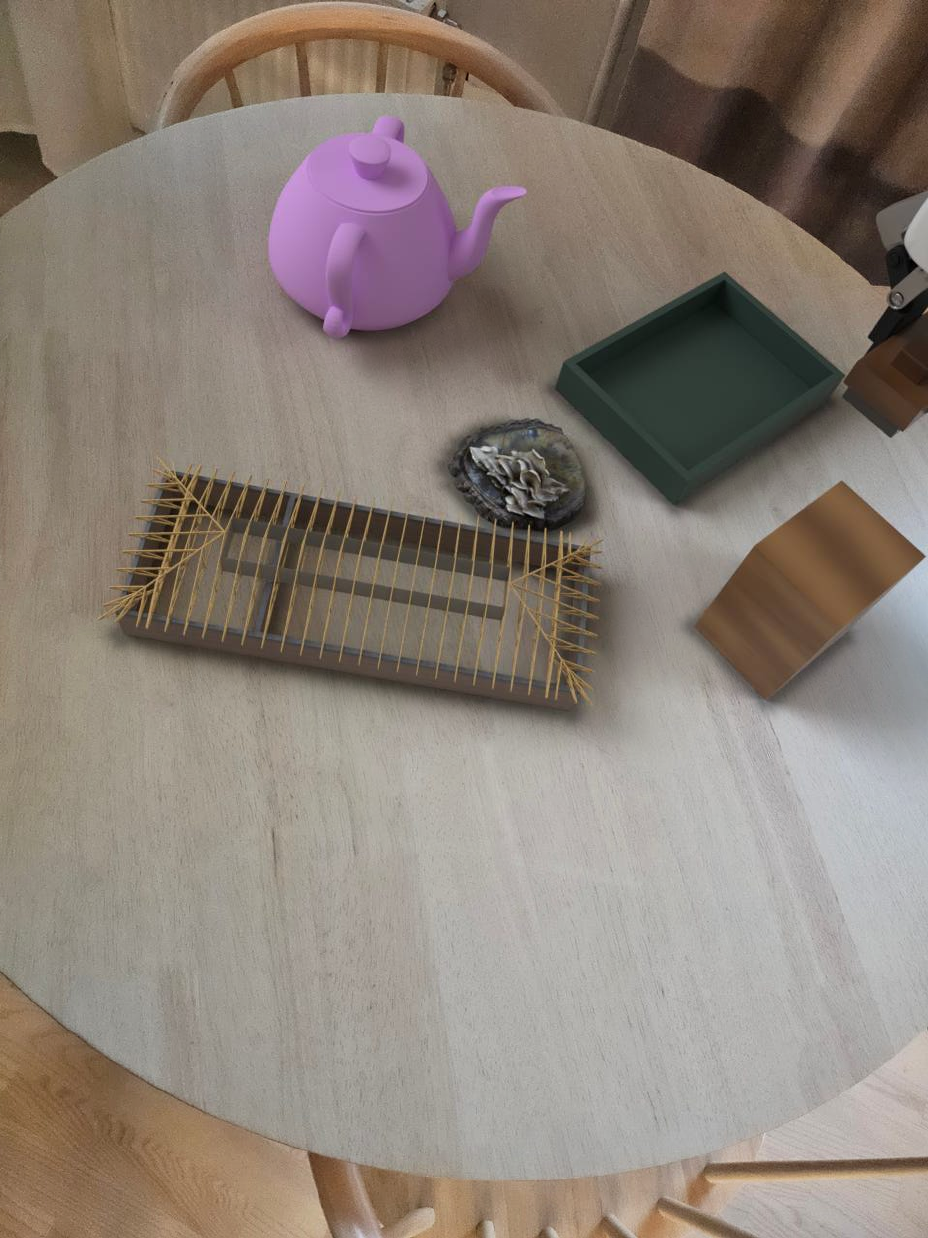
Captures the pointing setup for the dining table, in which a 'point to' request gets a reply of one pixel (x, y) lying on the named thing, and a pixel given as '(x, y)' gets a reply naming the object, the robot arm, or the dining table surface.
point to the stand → (806, 587)
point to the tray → (697, 385)
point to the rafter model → (354, 583)
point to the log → (520, 475)
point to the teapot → (373, 233)
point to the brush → (893, 380)
